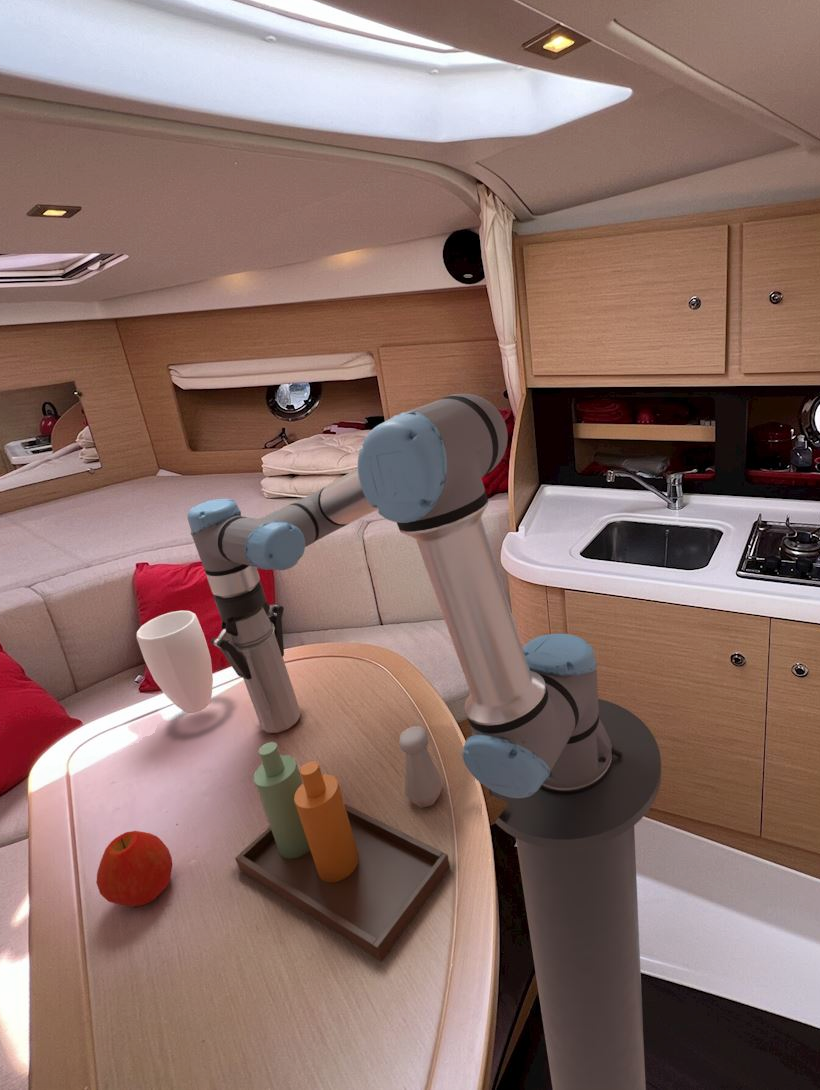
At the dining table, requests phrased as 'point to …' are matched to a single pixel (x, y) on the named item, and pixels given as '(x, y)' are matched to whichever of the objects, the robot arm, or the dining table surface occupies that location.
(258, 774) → the sage bottle
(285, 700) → the water bottle
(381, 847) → the tray
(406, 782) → the salt shaker
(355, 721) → the dining table surface
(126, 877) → the apple
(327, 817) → the amber bottle
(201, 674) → the cup
